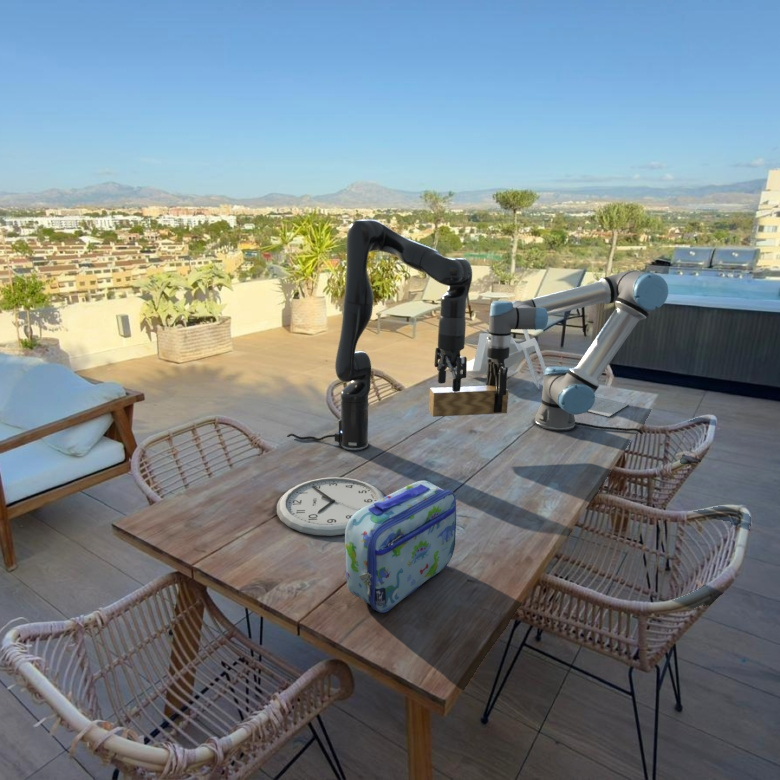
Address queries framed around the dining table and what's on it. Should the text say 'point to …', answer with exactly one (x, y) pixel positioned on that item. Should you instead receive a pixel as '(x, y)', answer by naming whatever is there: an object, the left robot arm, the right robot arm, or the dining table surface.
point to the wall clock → (325, 504)
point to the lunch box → (399, 543)
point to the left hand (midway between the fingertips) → (448, 387)
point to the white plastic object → (516, 353)
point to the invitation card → (606, 407)
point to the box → (464, 401)
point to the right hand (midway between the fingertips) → (494, 408)
